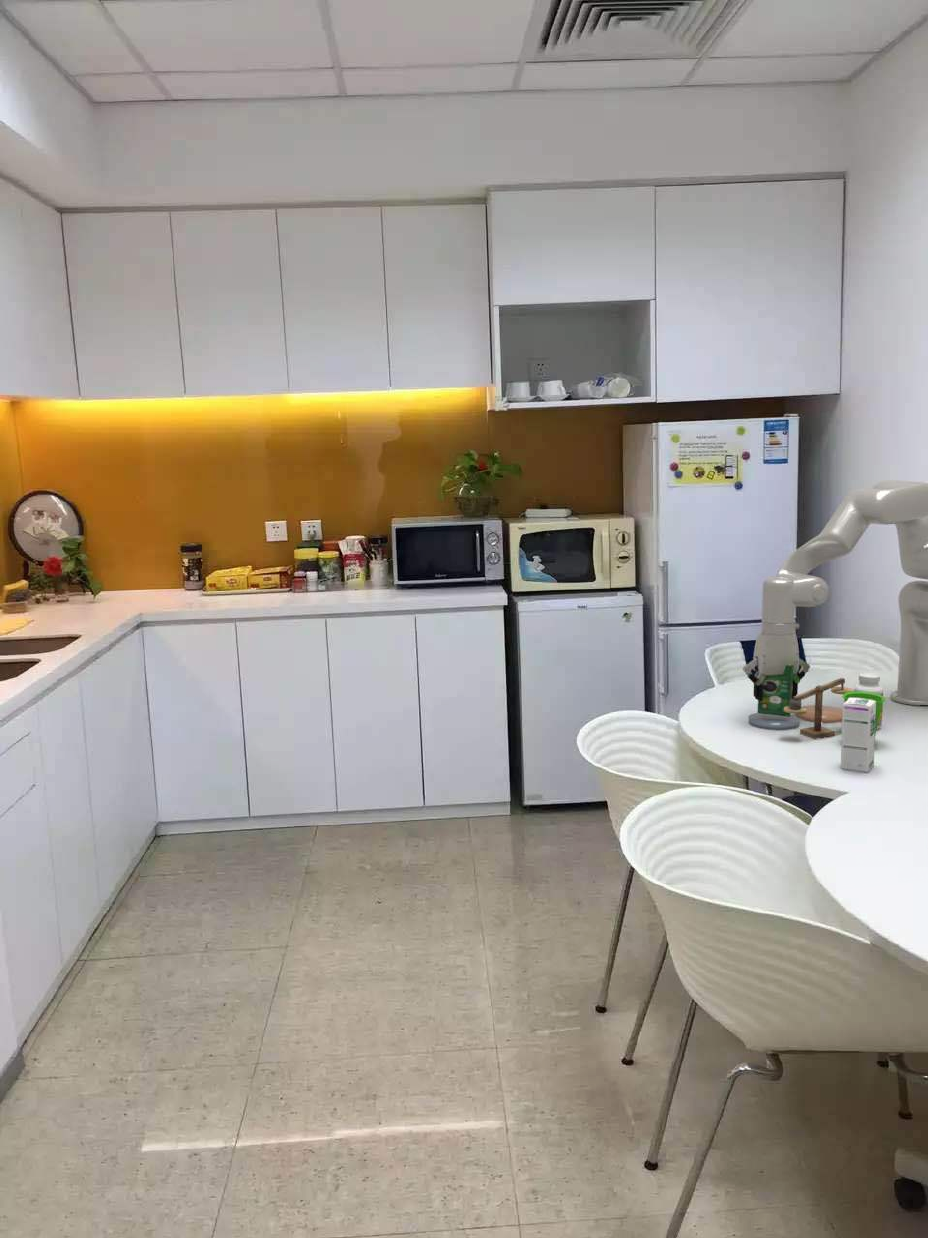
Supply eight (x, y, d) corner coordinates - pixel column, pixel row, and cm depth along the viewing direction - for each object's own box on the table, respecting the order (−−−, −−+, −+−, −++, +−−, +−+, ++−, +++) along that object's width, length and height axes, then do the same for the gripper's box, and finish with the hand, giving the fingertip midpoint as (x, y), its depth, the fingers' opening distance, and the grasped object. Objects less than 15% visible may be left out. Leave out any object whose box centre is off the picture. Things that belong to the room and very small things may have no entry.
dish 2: (832, 708, 259) (832, 704, 258) (855, 721, 247) (855, 716, 247) (787, 710, 257) (788, 706, 257) (808, 723, 246) (808, 719, 246)
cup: (881, 739, 233) (883, 693, 231) (883, 750, 224) (886, 703, 222) (839, 736, 236) (842, 690, 234) (840, 747, 227) (842, 700, 225)
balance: (840, 727, 242) (843, 674, 240) (856, 732, 238) (858, 679, 236) (778, 737, 236) (780, 683, 233) (792, 743, 231) (794, 688, 229)
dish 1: (787, 715, 253) (787, 710, 253) (807, 729, 242) (808, 724, 241) (741, 717, 252) (741, 713, 252) (759, 731, 240) (760, 726, 240)
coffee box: (793, 714, 246) (794, 662, 244) (790, 717, 243) (792, 664, 241) (759, 711, 250) (761, 659, 247) (757, 714, 247) (758, 661, 245)
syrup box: (868, 773, 210) (872, 705, 208) (839, 768, 213) (842, 702, 211) (874, 765, 215) (877, 699, 212) (845, 761, 218) (848, 696, 215)
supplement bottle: (884, 731, 239) (887, 678, 236) (854, 730, 240) (857, 678, 238) (878, 723, 245) (881, 672, 243) (849, 722, 246) (852, 671, 244)
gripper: (805, 624, 247) (802, 693, 250) (737, 627, 245) (735, 696, 249) (819, 629, 240) (816, 701, 243) (748, 633, 238) (746, 704, 241)
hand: (775, 698), depth 246 cm, fingers closed on coffee box, 7 cm apart
